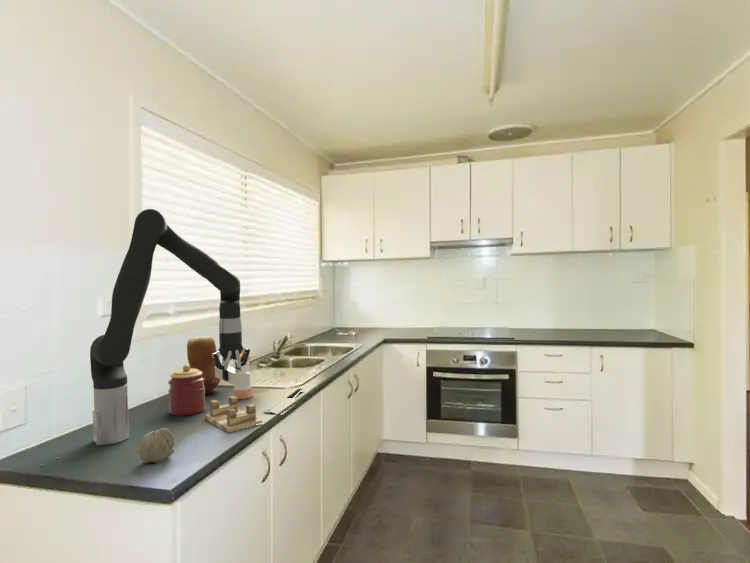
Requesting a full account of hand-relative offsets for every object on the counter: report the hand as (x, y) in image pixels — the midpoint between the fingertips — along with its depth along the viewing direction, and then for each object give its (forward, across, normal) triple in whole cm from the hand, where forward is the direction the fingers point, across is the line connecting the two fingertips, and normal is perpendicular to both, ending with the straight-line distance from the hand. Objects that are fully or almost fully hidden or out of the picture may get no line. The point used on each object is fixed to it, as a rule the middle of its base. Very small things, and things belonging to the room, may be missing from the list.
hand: (231, 379), depth 156 cm
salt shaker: (+15, -17, -27) cm, 35 cm away
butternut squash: (+15, -7, -44) cm, 47 cm away
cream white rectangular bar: (+1, 0, 0) cm, 1 cm away
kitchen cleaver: (+16, -27, -5) cm, 32 cm away
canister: (+15, +7, -24) cm, 29 cm away
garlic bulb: (+15, +30, +16) cm, 37 cm away
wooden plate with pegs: (+15, 0, 0) cm, 15 cm away
